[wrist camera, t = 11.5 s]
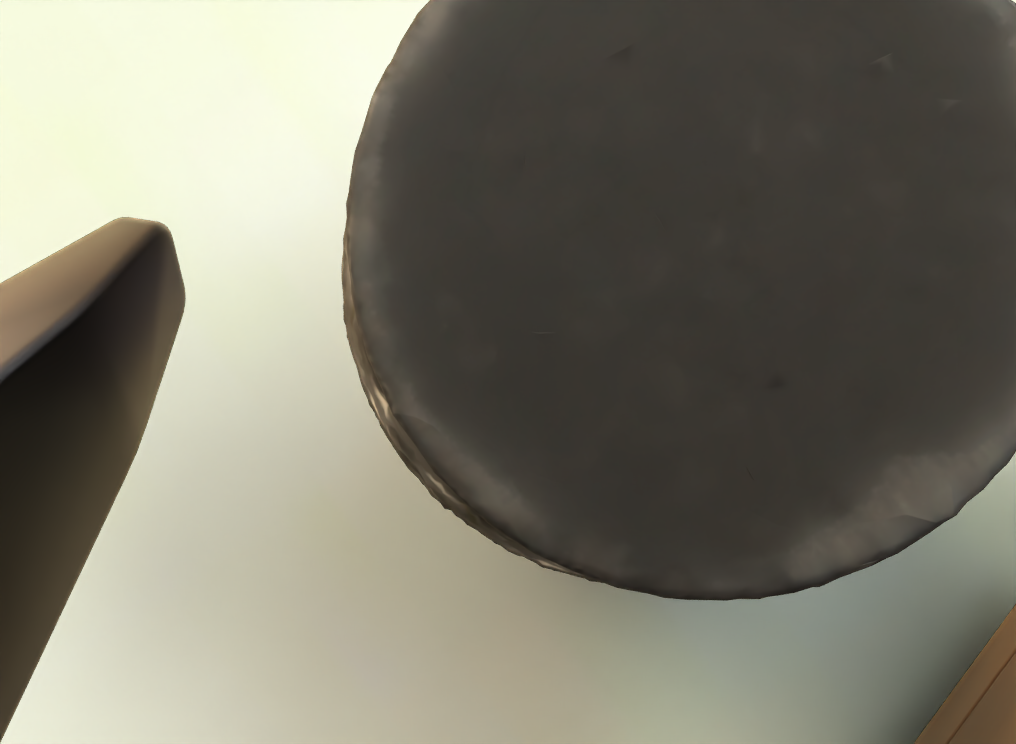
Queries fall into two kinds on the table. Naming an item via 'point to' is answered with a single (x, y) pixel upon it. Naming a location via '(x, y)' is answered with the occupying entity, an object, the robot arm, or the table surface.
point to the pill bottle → (692, 279)
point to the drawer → (981, 697)
